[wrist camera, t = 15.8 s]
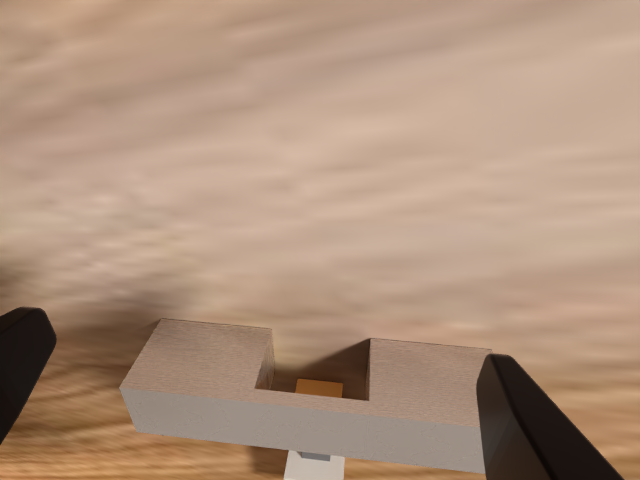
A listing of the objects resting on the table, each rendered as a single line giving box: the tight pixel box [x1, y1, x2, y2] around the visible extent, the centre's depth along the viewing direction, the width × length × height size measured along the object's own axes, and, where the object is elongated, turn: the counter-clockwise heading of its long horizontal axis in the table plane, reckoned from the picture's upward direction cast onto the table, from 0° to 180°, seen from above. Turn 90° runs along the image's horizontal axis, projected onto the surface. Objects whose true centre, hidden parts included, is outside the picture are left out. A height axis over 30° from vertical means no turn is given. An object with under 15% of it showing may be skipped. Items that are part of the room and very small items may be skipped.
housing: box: [119, 319, 493, 474], centre depth 24 cm, size 4×20×5 cm, turn 89°
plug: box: [284, 379, 345, 480], centre depth 29 cm, size 10×4×4 cm, turn 179°
